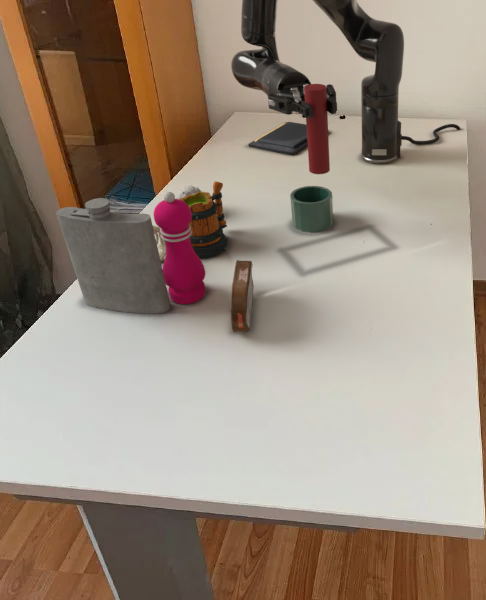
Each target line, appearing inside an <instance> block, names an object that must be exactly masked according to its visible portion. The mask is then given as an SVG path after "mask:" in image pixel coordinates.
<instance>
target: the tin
mask: <svg viewBox="0 0 486 600" xmlns="http://www.w3.org/2000/svg"><path fill="white" fill-rule="evenodd" d="M253 306H254V280H253V262H252V260H239V259H236V261H235V266H234V272H233V278H232V283H231V291H230V324H231V330H232V333H236V332H237V333H238V332H241V333H242V332H243V333H244V332H245V333H246V332H249V331H250V328H251V322H252V314H253Z"/></svg>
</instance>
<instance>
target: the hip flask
mask: <svg viewBox="0 0 486 600" xmlns="http://www.w3.org/2000/svg"><path fill="white" fill-rule="evenodd" d="M84 207H85V208H80V207H75V206H66V207H62V208H60V209H58V210H57V211H56V213H55V214H56V217H57V220H58V223H59V226H60V229H61V233H62V236H63V239H64V242H65V245H66V248H67V251H68V254H69V257H70V261H71V263H72V267H73V269H74V274H75V275H76V279H77V282H78V285H79V289H80V292H81V294H82V297H83V301H84V303H85V305H87V306H90V307H94V308H99V309H103V310H107V311H108V310H109V311H115V312H121V313H122V312H123V313H132V314H165V313H167V312H168V311H170V310H171V308H172V307H171V306H172V305H171V302H170V295H169V291H168V286H167V285H166V283H165V279H164V274H163V265H162V260H161V261H160V256H159V253H160V251H159V248H158V244H157V243H156V236H155V234H154V230H153V226H154V225H153V221H152V218H151V214H148V213H127V212H126V213H125V212H124V213H123V212H112V211H111V209H110V207H111V202H110V200H109V199H108V198H103V197H98V198H93V199H90V200H88V201H86V202H85V204H84ZM152 225H153V226H152Z"/></svg>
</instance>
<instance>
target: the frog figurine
mask: <svg viewBox="0 0 486 600" xmlns="http://www.w3.org/2000/svg"><path fill="white" fill-rule="evenodd" d="M199 191H202V190H201V189H200V188H199V186H193V185H187V186H185V187H184V188H183V189H181V190H179V192H178V193H177V195H176V199H179V200H180V198H183V197H185V196H188V195H191V194H195V193H197V192H199Z"/></svg>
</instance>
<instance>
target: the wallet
mask: <svg viewBox="0 0 486 600" xmlns="http://www.w3.org/2000/svg"><path fill="white" fill-rule="evenodd" d="M328 133H330V131H329V129H328ZM248 147H249V148H250V147H251V148H255V149H257V150H258V149H259V150H264V151H269V152H274V153H279V154H284V155H290V156H295V155H297V154H298V153H301V152H302V151H304V149H306V148H308V143H307V126H306V123H300V122H295V121H286V122H283V123H282V124H280V125H278V126H277V127H275V128H273V129H271V130H270V131H268V132H266V133H264V134H263V135H261V136H259V137H258V138H256V139H254V140H253V141H251V142H249V143H248Z"/></svg>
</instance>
